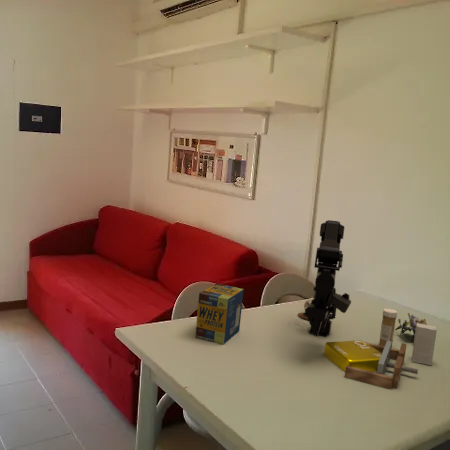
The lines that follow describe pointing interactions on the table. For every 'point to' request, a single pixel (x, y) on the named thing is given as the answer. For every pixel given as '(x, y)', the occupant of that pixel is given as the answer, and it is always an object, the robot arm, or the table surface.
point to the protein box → (219, 313)
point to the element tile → (353, 355)
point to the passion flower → (410, 324)
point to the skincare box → (424, 344)
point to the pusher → (384, 363)
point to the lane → (376, 377)
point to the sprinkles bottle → (387, 326)
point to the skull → (305, 308)
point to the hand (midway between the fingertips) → (319, 331)
